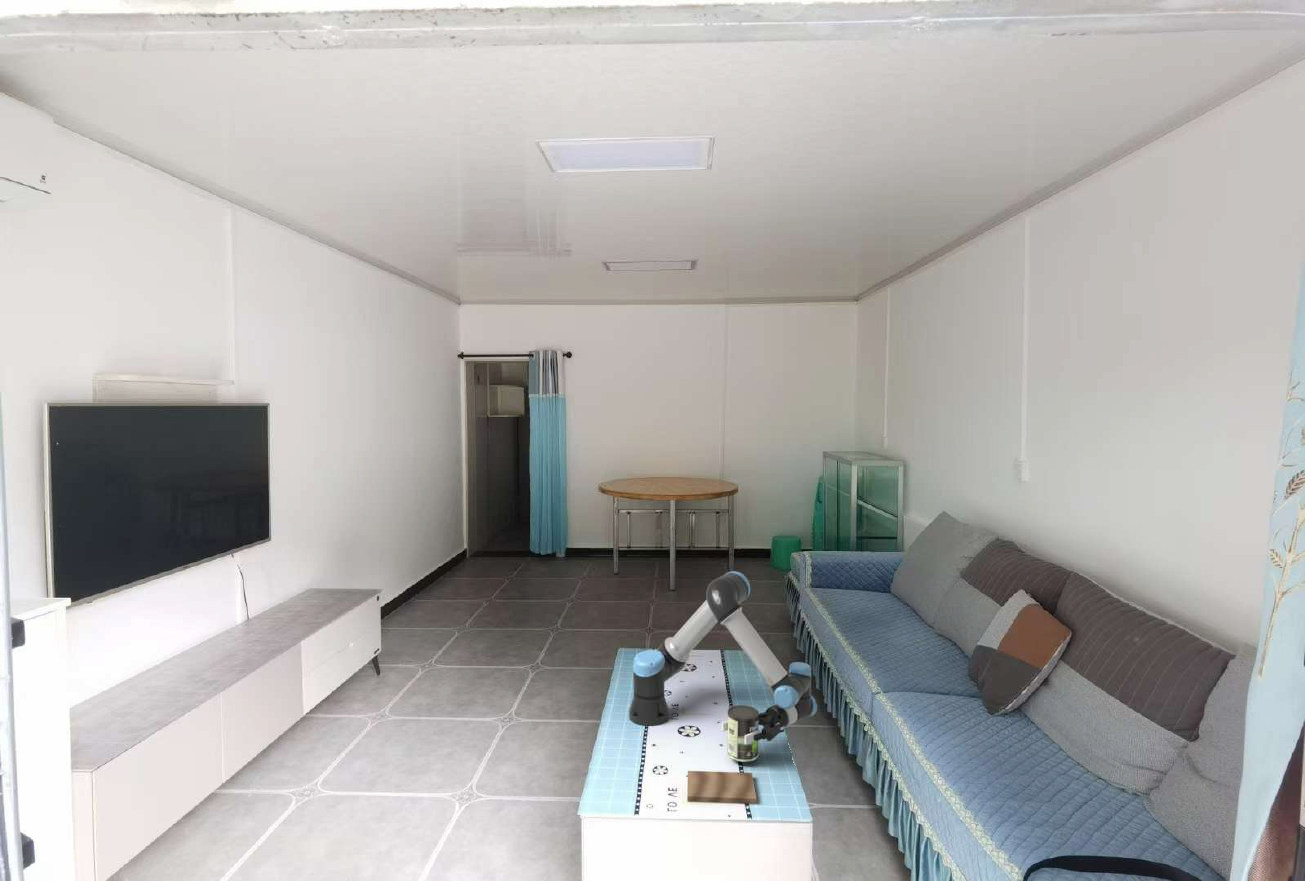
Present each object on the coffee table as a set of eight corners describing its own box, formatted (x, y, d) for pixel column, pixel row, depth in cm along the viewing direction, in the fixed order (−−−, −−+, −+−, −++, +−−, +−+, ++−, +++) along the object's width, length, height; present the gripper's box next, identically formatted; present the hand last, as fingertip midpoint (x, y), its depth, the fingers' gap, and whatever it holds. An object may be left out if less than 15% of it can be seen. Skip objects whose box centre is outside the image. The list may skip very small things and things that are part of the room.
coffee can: (763, 751, 215) (764, 709, 215) (751, 765, 207) (751, 721, 206) (735, 743, 221) (735, 702, 220) (721, 756, 212) (722, 713, 212)
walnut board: (687, 801, 190) (687, 796, 190) (687, 775, 204) (687, 770, 204) (756, 803, 189) (756, 798, 189) (752, 777, 203) (752, 772, 203)
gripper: (806, 739, 215) (758, 759, 202) (757, 714, 233) (710, 731, 220) (806, 716, 215) (759, 735, 202) (757, 693, 233) (710, 709, 220)
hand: (733, 733), depth 211 cm, fingers closed on coffee can, 10 cm apart
